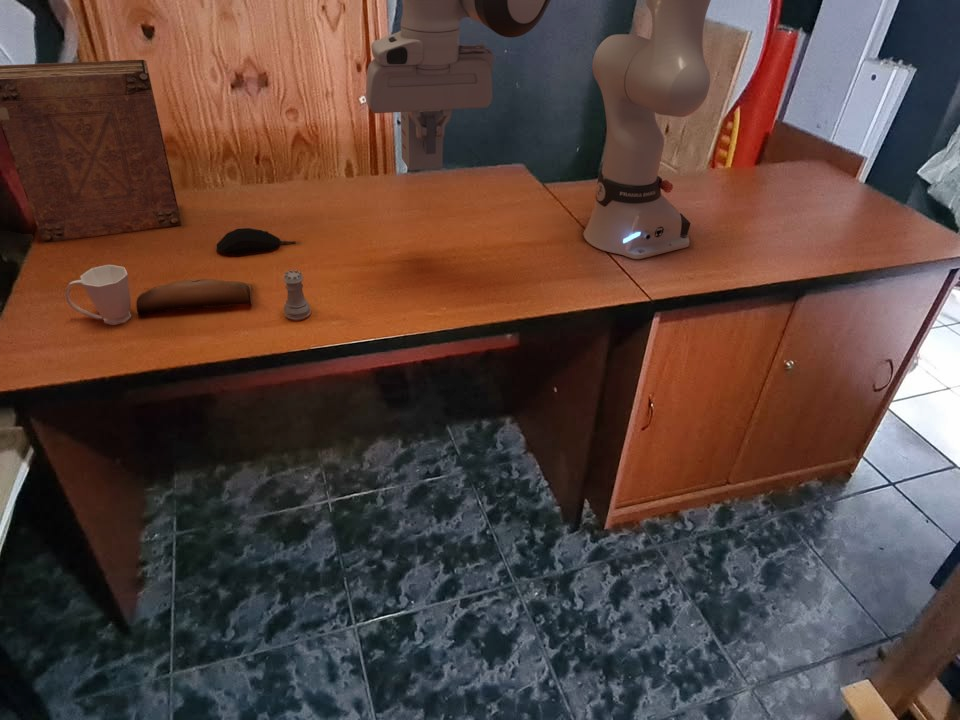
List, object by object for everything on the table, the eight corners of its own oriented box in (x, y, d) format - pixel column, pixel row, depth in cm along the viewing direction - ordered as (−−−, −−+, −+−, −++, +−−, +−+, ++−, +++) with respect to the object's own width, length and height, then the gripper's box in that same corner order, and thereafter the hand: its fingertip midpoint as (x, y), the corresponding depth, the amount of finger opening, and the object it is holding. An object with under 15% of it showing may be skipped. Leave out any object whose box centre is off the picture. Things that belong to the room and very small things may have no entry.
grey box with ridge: (433, 155, 125) (447, 175, 118) (401, 158, 124) (413, 178, 117) (434, 99, 119) (448, 116, 112) (399, 100, 118) (412, 118, 110)
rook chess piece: (284, 322, 115) (279, 281, 110) (283, 308, 118) (278, 267, 113) (312, 320, 116) (307, 278, 111) (310, 306, 119) (305, 265, 115)
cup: (135, 328, 111) (122, 285, 106) (68, 331, 110) (52, 288, 105) (144, 305, 117) (132, 263, 112) (80, 307, 115) (65, 265, 110)
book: (41, 242, 132) (-18, 80, 114) (44, 222, 139) (-12, 65, 121) (182, 225, 141) (148, 72, 123) (178, 207, 147) (145, 59, 129)
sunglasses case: (251, 281, 124) (246, 262, 118) (254, 316, 121) (250, 298, 115) (143, 290, 120) (132, 271, 113) (144, 326, 117) (133, 309, 111)
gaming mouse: (297, 250, 135) (295, 231, 133) (218, 258, 131) (214, 240, 128) (293, 236, 140) (291, 218, 137) (216, 243, 135) (213, 225, 133)
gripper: (487, 40, 111) (483, 126, 119) (361, 43, 105) (366, 133, 113) (500, 49, 106) (495, 138, 114) (368, 53, 100) (373, 147, 109)
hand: (430, 136), depth 114 cm, fingers closed on grey box with ridge
